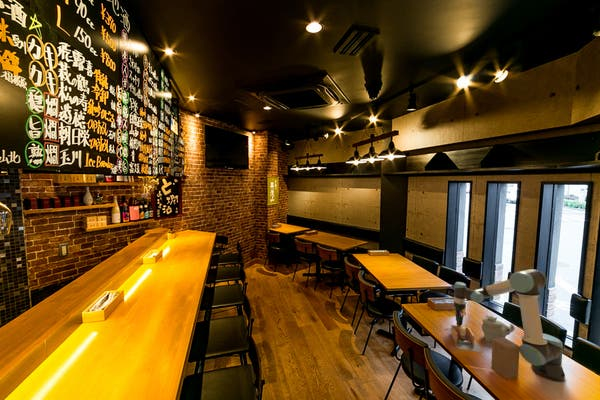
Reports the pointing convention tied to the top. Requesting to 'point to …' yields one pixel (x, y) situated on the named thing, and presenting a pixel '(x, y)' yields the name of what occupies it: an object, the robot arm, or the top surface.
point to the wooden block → (505, 357)
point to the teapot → (495, 328)
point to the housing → (456, 332)
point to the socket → (463, 341)
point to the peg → (462, 333)
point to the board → (465, 346)
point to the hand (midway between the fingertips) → (458, 331)
